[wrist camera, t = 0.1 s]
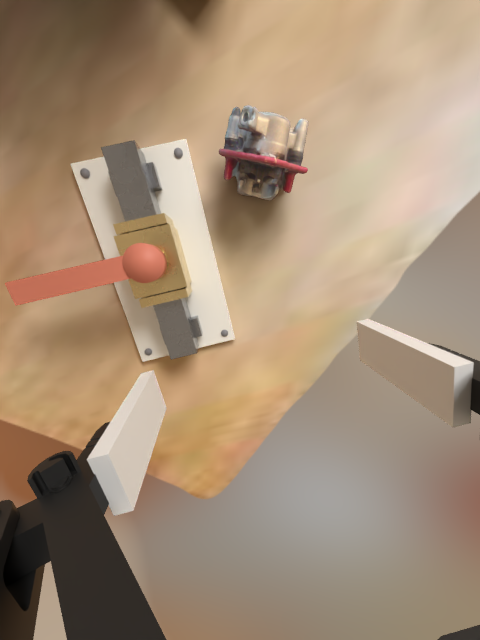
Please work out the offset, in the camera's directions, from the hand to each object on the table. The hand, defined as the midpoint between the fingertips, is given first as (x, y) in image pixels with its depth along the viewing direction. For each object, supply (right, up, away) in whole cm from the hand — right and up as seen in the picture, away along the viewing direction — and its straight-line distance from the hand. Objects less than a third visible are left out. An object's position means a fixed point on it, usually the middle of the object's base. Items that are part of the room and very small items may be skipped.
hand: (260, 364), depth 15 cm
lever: (-19, +8, +14) cm, 25 cm away
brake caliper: (+1, +24, +22) cm, 32 cm away
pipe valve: (-13, +12, +23) cm, 29 cm away
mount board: (-13, +12, +23) cm, 29 cm away
